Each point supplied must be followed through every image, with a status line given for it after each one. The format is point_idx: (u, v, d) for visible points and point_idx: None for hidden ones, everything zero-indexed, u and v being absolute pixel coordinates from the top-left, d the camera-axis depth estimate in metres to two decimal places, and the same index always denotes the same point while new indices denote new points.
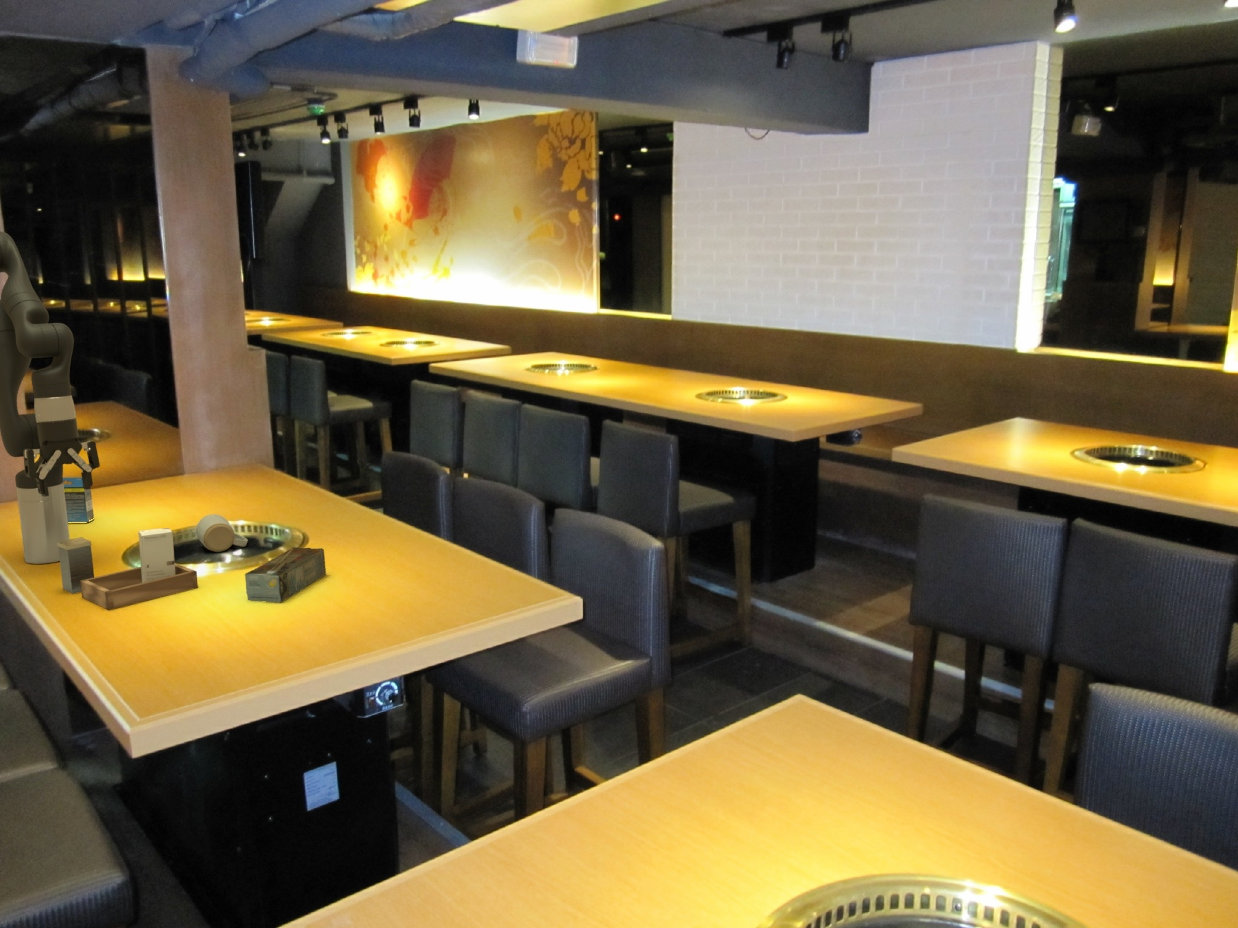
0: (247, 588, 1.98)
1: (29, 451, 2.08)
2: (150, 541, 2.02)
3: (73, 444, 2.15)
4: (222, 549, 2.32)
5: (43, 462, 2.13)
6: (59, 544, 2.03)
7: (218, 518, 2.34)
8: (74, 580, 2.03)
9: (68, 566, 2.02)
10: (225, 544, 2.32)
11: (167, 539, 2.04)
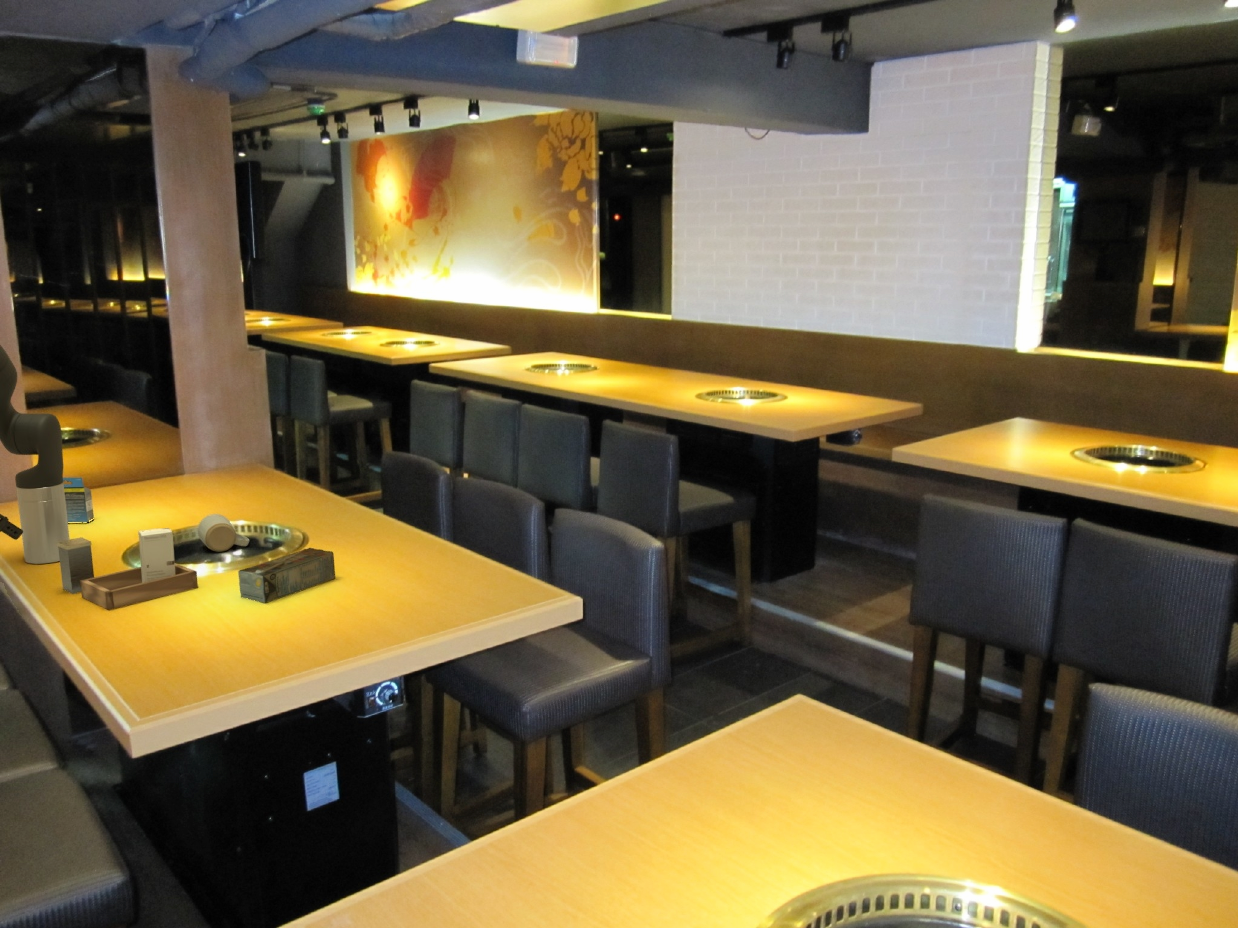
0: (240, 585, 2.00)
1: None
2: (150, 541, 2.02)
3: None
4: (224, 549, 2.32)
5: None
6: (59, 544, 2.03)
7: (220, 518, 2.34)
8: (74, 580, 2.03)
9: (68, 566, 2.02)
10: (226, 544, 2.32)
11: (167, 539, 2.04)
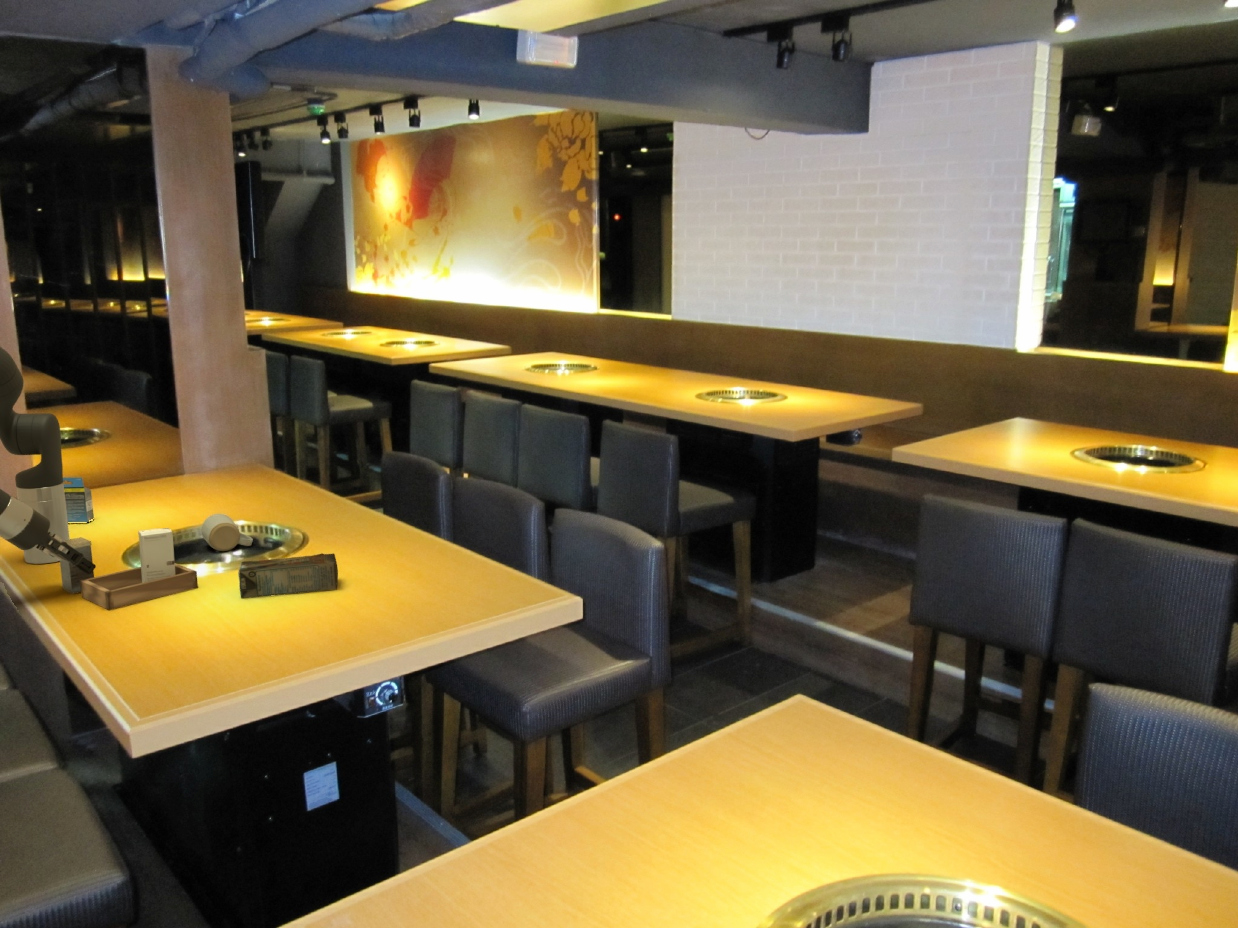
0: None
1: None
2: (150, 541, 2.02)
3: (42, 545, 1.97)
4: (227, 548, 2.33)
5: None
6: None
7: (223, 517, 2.35)
8: (74, 580, 2.03)
9: (68, 566, 2.02)
10: (230, 543, 2.33)
11: (167, 539, 2.04)
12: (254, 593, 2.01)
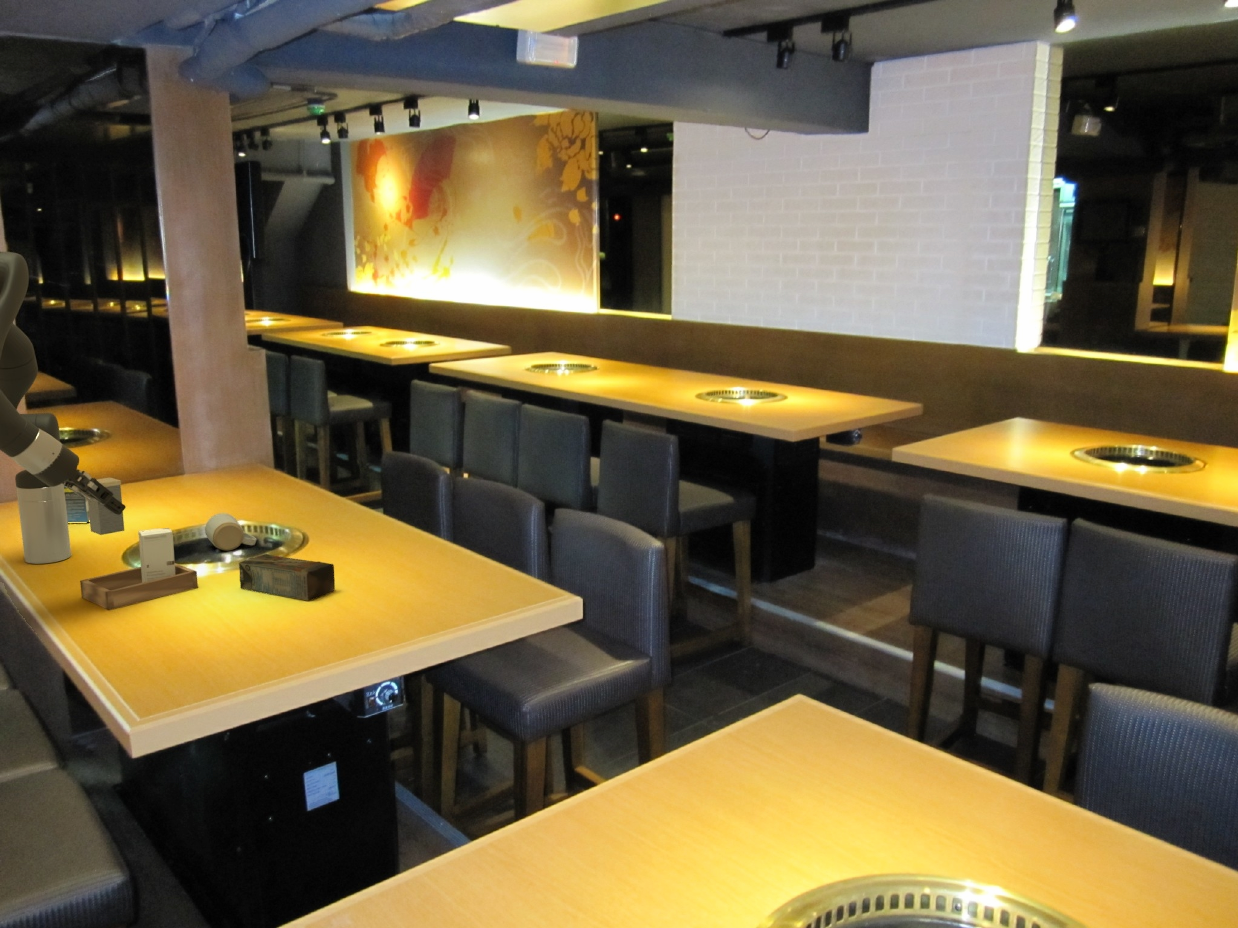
0: None
1: None
2: (150, 541, 2.02)
3: (71, 481, 1.88)
4: (231, 548, 2.33)
5: None
6: None
7: (227, 517, 2.35)
8: (103, 520, 1.94)
9: (97, 505, 1.93)
10: (234, 543, 2.33)
11: (167, 539, 2.04)
12: (249, 586, 2.05)
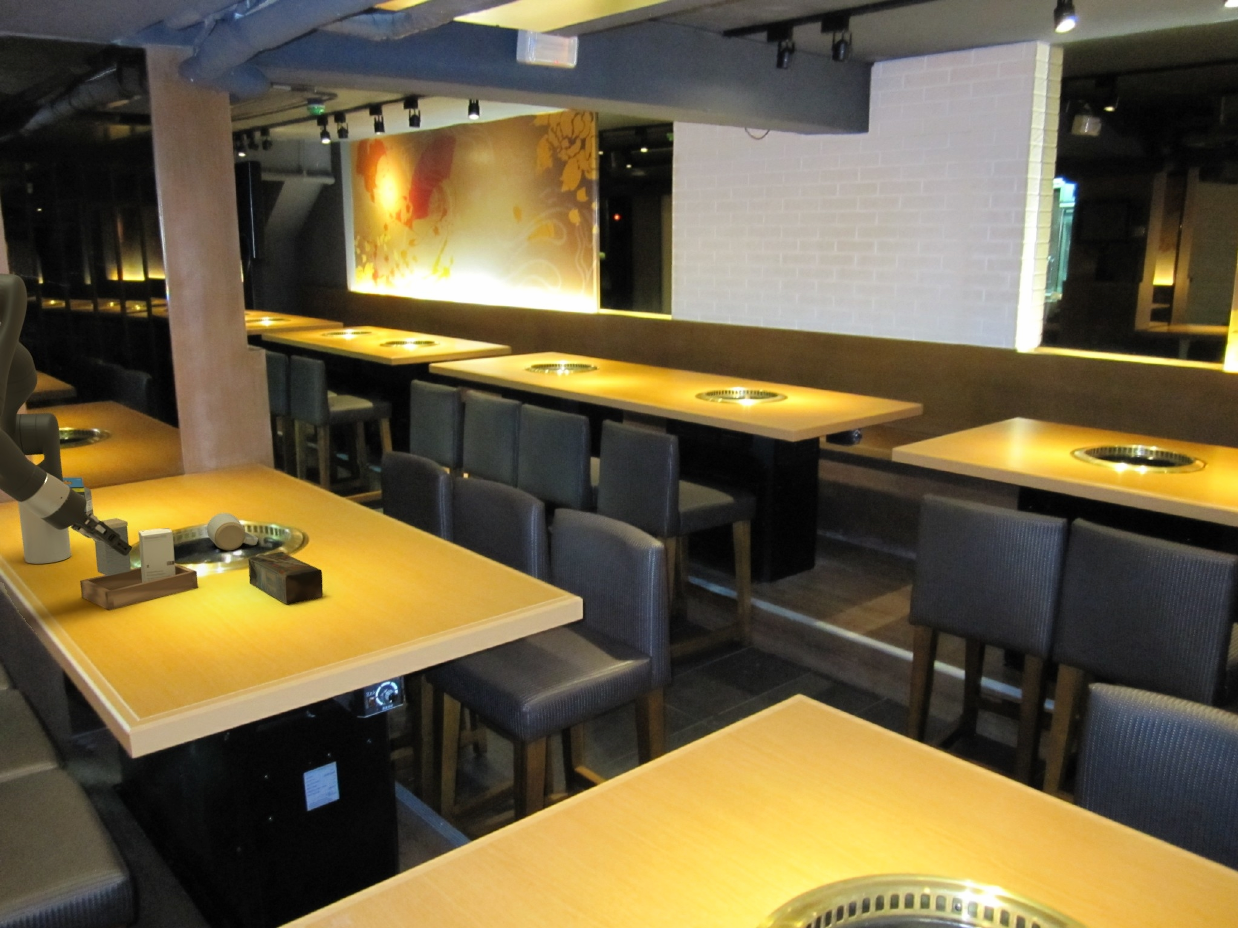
0: None
1: None
2: (150, 541, 2.02)
3: (79, 524, 1.90)
4: (233, 548, 2.33)
5: None
6: None
7: (229, 517, 2.35)
8: (110, 562, 1.96)
9: (104, 547, 1.95)
10: (236, 543, 2.33)
11: (168, 539, 2.04)
12: (254, 582, 2.07)
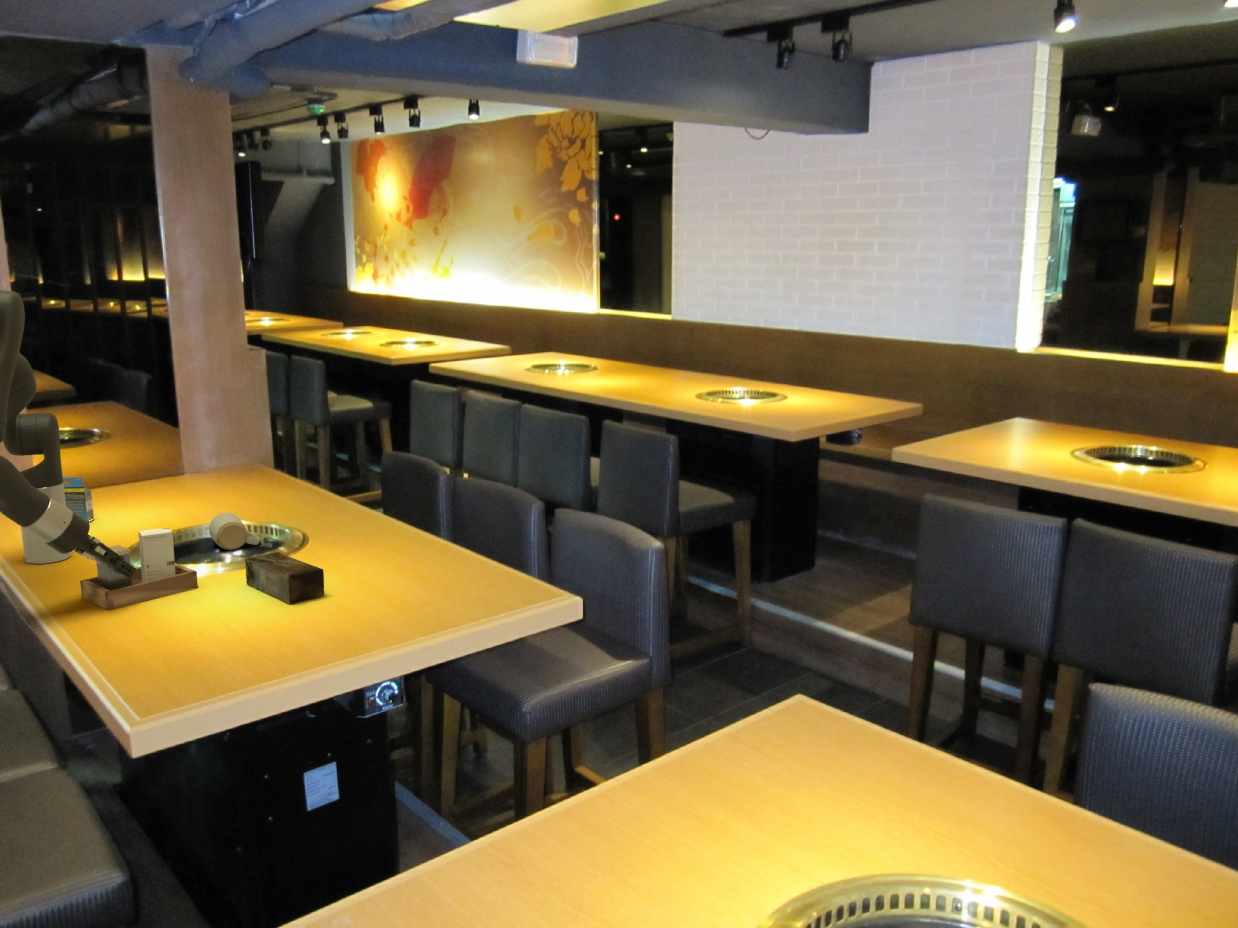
0: None
1: None
2: (150, 541, 2.02)
3: (82, 548, 1.91)
4: (235, 547, 2.33)
5: None
6: None
7: (231, 516, 2.36)
8: (112, 589, 1.97)
9: (106, 575, 1.96)
10: (238, 542, 2.34)
11: (167, 539, 2.04)
12: (252, 583, 2.07)
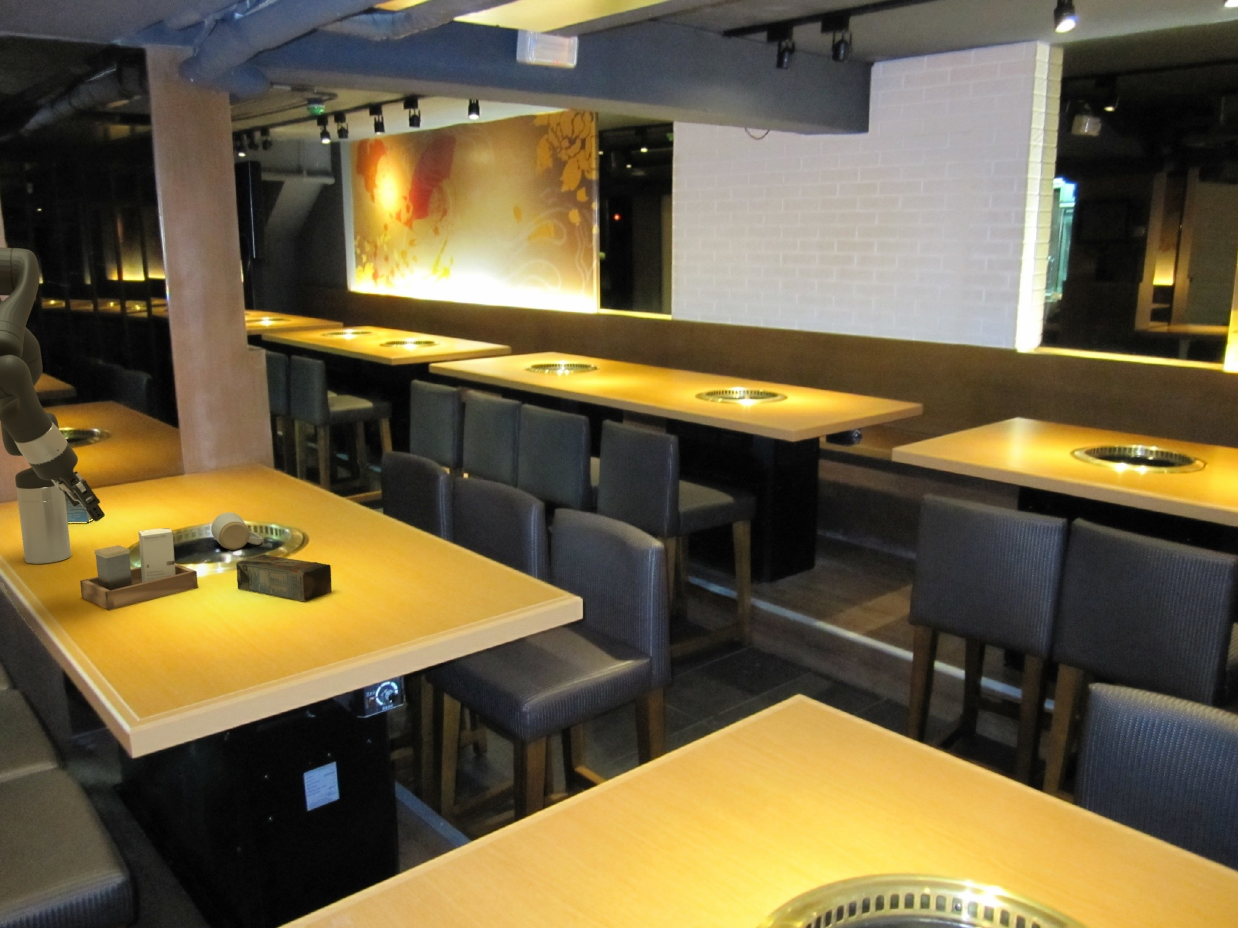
0: None
1: None
2: (150, 541, 2.02)
3: (63, 480, 1.88)
4: (237, 547, 2.34)
5: None
6: (97, 552, 1.97)
7: (233, 516, 2.36)
8: (112, 589, 1.97)
9: (106, 575, 1.96)
10: (240, 542, 2.34)
11: (167, 539, 2.04)
12: (246, 587, 2.05)
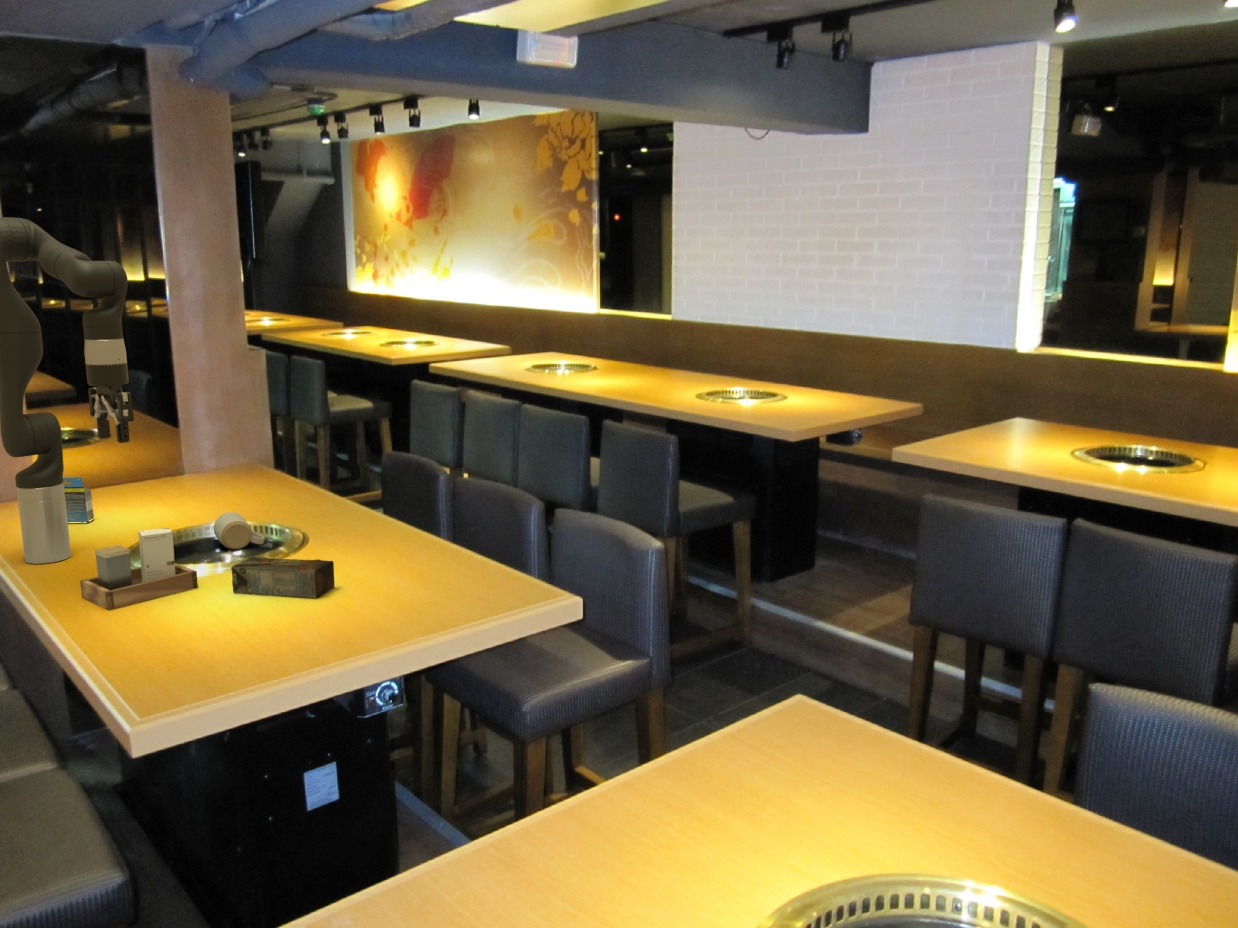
0: None
1: (88, 390, 2.07)
2: (150, 541, 2.02)
3: (108, 392, 2.01)
4: (239, 547, 2.34)
5: None
6: (97, 552, 1.97)
7: (235, 516, 2.36)
8: (112, 589, 1.97)
9: (106, 575, 1.96)
10: (242, 542, 2.34)
11: (167, 539, 2.04)
12: (244, 590, 2.03)
